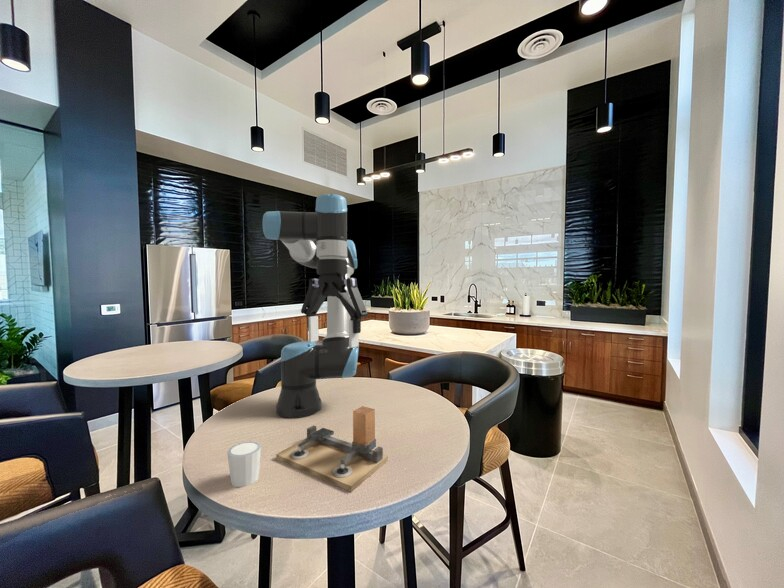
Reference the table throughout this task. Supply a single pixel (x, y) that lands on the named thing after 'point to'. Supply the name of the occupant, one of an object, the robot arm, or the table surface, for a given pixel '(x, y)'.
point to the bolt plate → (333, 461)
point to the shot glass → (244, 463)
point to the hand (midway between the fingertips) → (332, 343)
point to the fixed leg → (315, 438)
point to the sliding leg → (361, 434)
